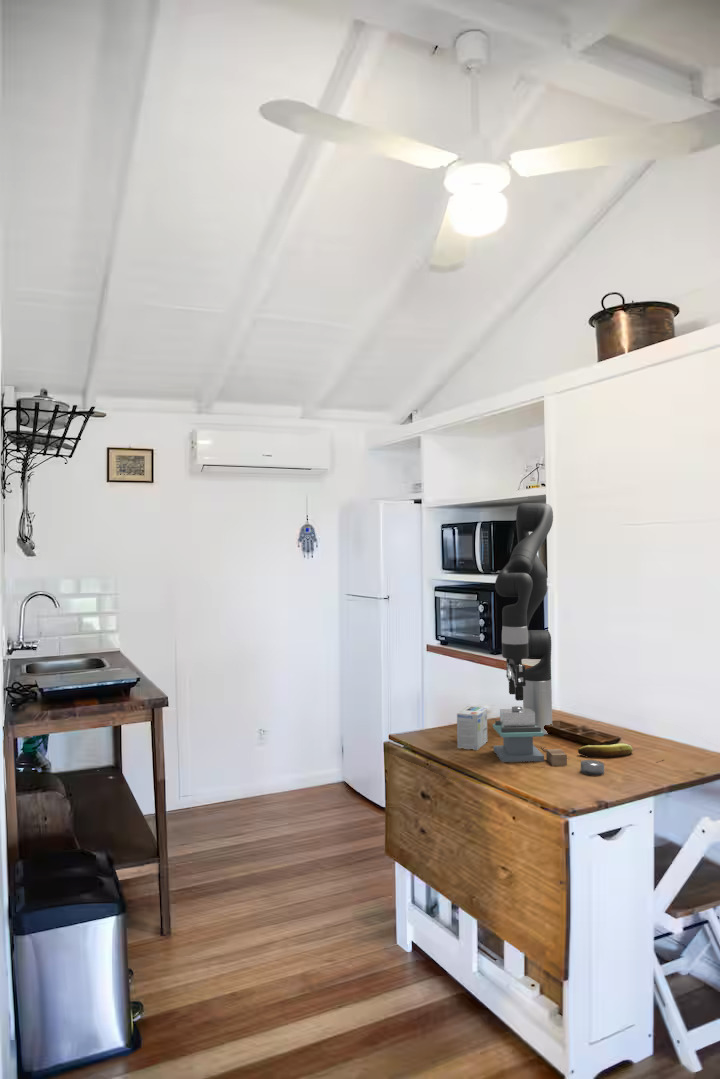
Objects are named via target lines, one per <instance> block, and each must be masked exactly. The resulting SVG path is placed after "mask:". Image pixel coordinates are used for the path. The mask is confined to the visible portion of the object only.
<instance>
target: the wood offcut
mask: <svg viewBox="0 0 720 1079" xmlns="http://www.w3.org/2000/svg"><path fill="white" fill-rule="evenodd" d="M545 752H546V754H545V755H546V756H545V757H546V761H547V762H548V763H549V764H550V765H551V766H552V767H553V766H555V767H556V766H557V767H558V766H568V760H567V758H568V754H567V753H566V752H565V751H563V750H562V749H561V748H555V749H546V751H545Z"/></svg>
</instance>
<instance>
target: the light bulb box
mask: <svg viewBox="0 0 720 1079" xmlns="http://www.w3.org/2000/svg"><path fill="white" fill-rule="evenodd" d="M456 728H457V729H456V731H457V732H456V733H457V734H456V736H457V739H456V740H457V743H456V744H457V749H461V748H464V749H463V750H470V749H473V750H472V751H479V749H480V747H481V748H482V747H483V746H484V745H486V744H487V743H488V708H487V707H478V706H477V707H476V706H467V707H465V708H463V709H462V710H461V711H459V712H457V713H456ZM486 742H487V743H486Z"/></svg>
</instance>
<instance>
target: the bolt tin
mask: <svg viewBox="0 0 720 1079" xmlns="http://www.w3.org/2000/svg"><path fill="white" fill-rule="evenodd" d="M580 773H582V774H583V775H587V776H592V775H598V776H602V774H603V775H604V774H605V763H604V762H601V761H599V760H594V759H584V760H583V759H582V760H581V761H580Z"/></svg>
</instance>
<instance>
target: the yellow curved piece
mask: <svg viewBox="0 0 720 1079" xmlns="http://www.w3.org/2000/svg"><path fill="white" fill-rule="evenodd" d="M545 746H546V745H545ZM545 746H542V747H541V749H542V750H543V751H544V752H546V749H543V748H546V747H545ZM633 750H634V749H633V747H632V746H631V745H630V744H627V743H614V744H602V745H599V744H598V745H597V744H595V745H592V744H591V745H590V744H588V745H583V746H581V747H579V748H578V749H577V752H578V754H579V755H582V756H584V757H585V756H587V757H586V758H592V757H607V758H618V756H619V757H624V755H625V756H629V755H630V754H631V753H632V752H633ZM628 754H629V755H628ZM567 759H568V760H567V761H570V760H571V758H568V757H567Z"/></svg>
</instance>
